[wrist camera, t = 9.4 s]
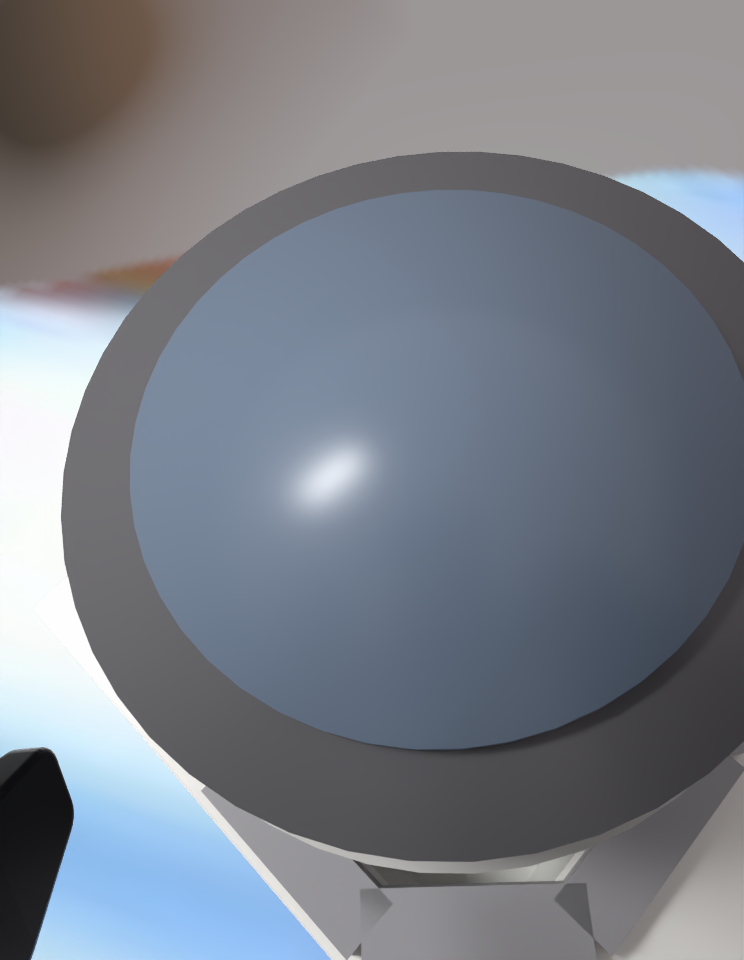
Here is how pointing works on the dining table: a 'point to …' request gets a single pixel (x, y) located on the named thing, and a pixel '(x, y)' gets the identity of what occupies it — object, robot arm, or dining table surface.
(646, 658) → the lens
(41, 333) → the dining table surface
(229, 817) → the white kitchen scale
